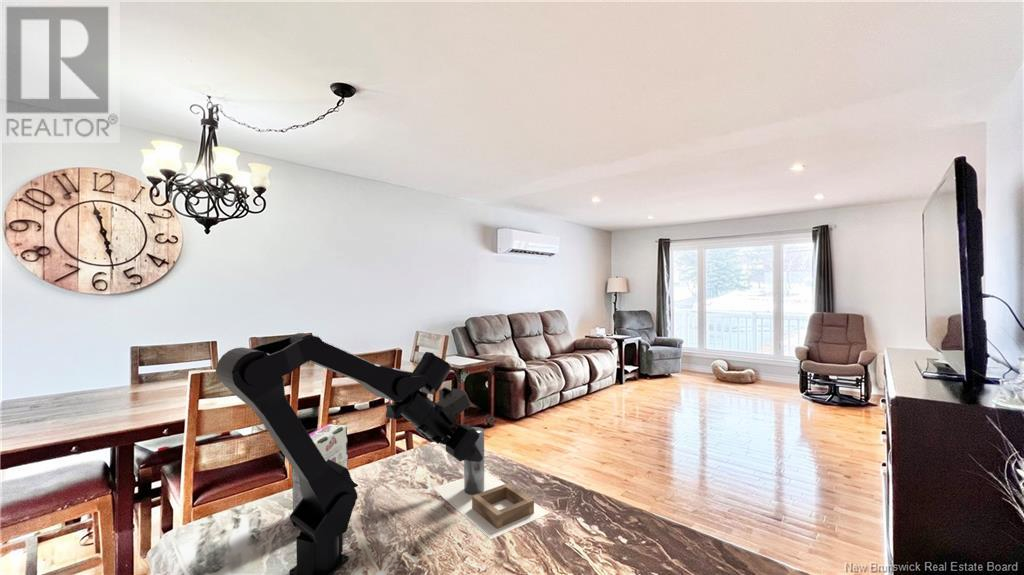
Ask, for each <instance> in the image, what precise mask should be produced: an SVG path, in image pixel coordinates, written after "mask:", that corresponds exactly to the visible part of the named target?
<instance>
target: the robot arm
mask: <svg viewBox="0 0 1024 575" xmlns="http://www.w3.org/2000/svg"><path fill="white" fill-rule="evenodd" d="M308 362H309V363H311V364H314V365H317V366H319V367H321V368H324V369H326V370H329V371H331V372H334V373H336V374H338V375H341V376H344V377H346V378H349V379H351V380H354V381H355V382H357V383H358V384H360V385H361V386H362V387H363V388H364V389H365V390H367V391H368V392H370V393H371V394H373V395H374V396H376V397H378V398H381V399H386V400H388V401H389V400H390V401H392V402H391V403H389V404H386V405H385V407H386V408H385V409H386V411H385V417H386V418H387V419H390V420H398V419H399V417H400V416H402V417H404V418H405V419H406V420H407V421H408V422H409V423H411V425H412V426H413V427H414V428H415V432H417V433H418V434H419V435H420V436H422V437H423V438H425V439H427V440H428V441H430V442H433V443H436V444H437V445H439V444H440V445H444V446H445V452H447V453H448V454H449V455H450V456H451V457H453V459H455V460H457V461H458V462H464V460H466V461H474V462H481V460H482V459H483V457H482V455H481V453H480V451H479V450H478V448H477V446H476V444H475V443H476V441H477V440H478V438H479V433H478V432H477V431H476V430H475V429H474V428H472V427H473V426H470V425H468V424H466V423H463V424H459V425H458V426H454V425H455V424H456V422H457V421H458V420H459V419H458V418H457V416H458V415H460V414H461V413H462V412H464V411H465V410H466V409H469V408H470V407H471V405H472V403H471V400H470V399H469V396H468V394H467V392H466V391H465V390H462V389H460V388H452V389H449V388H448V387H445V386H444V387H442V388H441V389H440V387H441V386H442V385H443V383H444V381H445V380H446V378H447V377H448V375H449V373H450V372H451V371H452V365H451V364H450V362H448V361H445V360H444V359H442V358H441V357H439V356H437V355H436V354H434V352H430V351H425V353H424V354H423V355H422V357H421V359H420V361H419V362H418V363H417V365H416V366H415V368H414V370H413V371H412V372H411V371H408V370H403V369H399V368H394V367H389V366H385V365H381V364H377V363H373V362H371V361H369V360H367V359H365V358H362V357H361V356H358V355H356V354H353V353H352V352H349V351H347V350H345V349H343V348H341V347H338V346H336V345H334V344H332V343H330V342H328V341H326V340H323V339H322V338H321V337H320V336H319V335H316V334H311V333H305V332H298V333H296V334H295V333H294V334H293V335H291V336H288V337H285V338H282V339H279V340H274V341H271V342H266V343H263V344H259V345H257V346H254V347H251V348H248V347H235V348H233V349H232V348H231V349H229V350H228V351H227V352H225V353H224V354H223V355H222V356H221V357H220V358H219V359H218V362H217V365H216V367H215V375H216V377H217V379H218V380H219V381H220V382H221V383H222V384H223V385H224V386H225V387H226V388H227V389H228V390H229V391H230V392H231V393H232V394H234V395H235V396H236V397H237V398H238V399H239V400H241V401H242V402H243V403H245V404H246V405H247V406H248V407H249V408H251V409H252V411H254V414H256V415H257V416H256V417H258V419H259V420H260V422H261V424H262V425H263V426H264V428H265V430H266V431H267V432H268V433H269V435H270V436H271V439H273V440H274V442H275V444H276V445H277V447H278V448H279V449H280V451H281V453H282V454H283V456H284V457H285V458H286V460H287V462H288V463H289V465H290V466H291V468H292V467H293V469H294V470H295V472H296V473H297V475H298V477H299V483H300V491H301V493H302V496H303V498H302V500H301V501H300V502H299V504H298V505H297V507H296V508H295V509H294V511H293V510H292V512H291V513H290V515H289V517H288V518H289V520H290V522H291V525H292V526H294V527H296V528H298V529H297V530H299V531H300V532H299V535H298V536H296V539H295V541H296V545H295V547H296V550H295V551H296V553H295V554H296V555H295V556H296V565H295V566H293V567H292V568H291V569H290V570H289V571H288V574H289V575H332V574H334V573H335V572H337V570H339V569H340V568H341V567H342V566H343V565H345V564H346V563H347V562H348V561H349V559H350V556H349V555H348V554H343V551H344V548H343V547H344V545H343V544H344V543H343V542H344V539H343V536H344V534H346V533H347V531H348V527H349V524H350V521H351V517H352V513H353V511H354V507H355V506H356V502H357V500H358V492H357V489H356V488H357V487H358V486H359V484H358V483H356V482H354V480H353V479H352V477H351V476H352V475H351V473H350V471H349V468H348V469H347V468H346V467H344V466H342V465H340V464H338V463H336V462H334V461H332V460H330V459H328V460H327V461H325V459H324V458H323V456H322V454H321V453H320V451H319V450H318V448H317V446H316V445H315V443H314V442H313V440H312V439H311V437H310V435H309V434H310V433H308V431H307V429H306V427H305V426H304V424H303V422H302V421H301V420H300V418H299V417H298V415H297V413H296V412H295V410H294V409H293V407H292V405H291V404H290V402H289V400H288V398H287V397H286V391H285V380H284V376H287V375H289V374H291V373H293V372H294V371H295V370H297V369H298V368H300V367H301V366H302V365H304V364H305V363H306V364H307V363H308ZM438 391H439V393H438V394H439V395H438V401H437V402H435V401H434V400H432V399H431V398H429V397H428V396H427V395H430V394H431V393H437V392H438ZM294 527H293V528H294Z"/></svg>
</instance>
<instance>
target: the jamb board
mask: <svg viewBox="0 0 1024 575" xmlns="http://www.w3.org/2000/svg"><path fill="white" fill-rule="evenodd" d="M504 484H506V482H503V481H502V480H501V479H499V478H497V477H496V476H494V475H492V474H491V473H490V472H489V471H487V470H484V491H487V490H490V489H493V488H496V487H498V486H501V485H504ZM432 490H433V491H435V492H436V493H437V494H438V495H439V496H440V497H442V498H443V499H444V500H445V501H446V502H447V503H449V504H450V505H451V507H453V508H454V509H456V510H457V512H459V513H460V514H461V515H462V516H463V517H464V518H466V520H468V521H469V522H470V523H471V524H472V525H473V526H474V527H476V529H478V530H479V531H480V532H482V534H484V535H485V536H486V537H487V538H488V539H489V540H492V539H493V540H494V539H495V538H497V537H499V536H502V535H504V534H506V533H508V532H511V531H513V530H515V529H518V528H521V526H524V525H526V524H528V523H531V522H533V521H535V520H537V519H539V518H542V517H544V516H547V515H549V514H550V511H548V510H546V509H545V508H543V507H541V506H540V505H539V504H538V503H536V502H534V513H533V514H531V515H528V516H526V517H524V518H521V519H519V520H517V521H514V522H512V523H510V524H508V525H505V526H503V527H501V528H498V529H496V528H495V527H494V526H493V525H492V524H490V523H489V522H488V521H487V520H486V519H484V518H483V517H482V516H481V515H480V514H478V513H477V512H476V511H475V510H473V509H472V496H473V495H469V494H467V493H465V492H464V477H463V478H459V479H456V480H454V481H450V482H446V483H444V484H441V485H439V486H435V487H432ZM511 505H513V503H511V502H510V501H508V500H507V499H505V500H502V501H500V502H497V503H495V504H492V506H493V507H495V508H496V509H497V510H501V509H504V508H506V507H509V506H511Z"/></svg>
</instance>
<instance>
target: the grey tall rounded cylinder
mask: <svg viewBox="0 0 1024 575" xmlns="http://www.w3.org/2000/svg"><path fill="white" fill-rule="evenodd" d="M471 427H472V428H474V429H475V430H476V431H477V432H478V433H479V438H478V440H477V441H476V443H475V444H476V446H477V448H478V450H479V451H480V453H481V455H482V457H483V459H482V460H481V462H474V461H466V460H463V478H464V492H465V493H467V494H469V495H476V494H479V493H482V492H484V471H485V429H484V428H482V427H479V426H471Z"/></svg>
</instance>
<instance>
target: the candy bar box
mask: <svg viewBox="0 0 1024 575" xmlns="http://www.w3.org/2000/svg"><path fill="white" fill-rule="evenodd" d="M308 434H309V435H310V437H311V439H312V440H313V442H314V443H315V445H316V446H317V448H318V450H319V451H320V453H321V454H322V456H323V458H324V459H325V461H327V460H328V459H330V460H332V461H334V462H336V463H338V464H340V465H342V466H344V467H346V468H347V469H348V470H349V466H348V465H349V464H348V461H349V460H348V456H349V455H348V453H349V452H348V425H347V424H338V423H336V424H335V423H327V424H326V425H324V426H322V427H320V428H317V429H316V430H314V431H312V432H310V433H308ZM291 477H292V478H291V480H292V481H291V482H292V484H291V486H292V512H293V511H294V509H295V508H296V507H297V505H298V504H299V502H300V501H301V500H302V498H303V496H302V493H301V491H300V483H299V477H298V475H297V473H296V472H295V470H294V469H293V467H292V466H291ZM292 526H293V525H292ZM293 529H296V530H299V529H298V528H296V527H294V526H293Z"/></svg>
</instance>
